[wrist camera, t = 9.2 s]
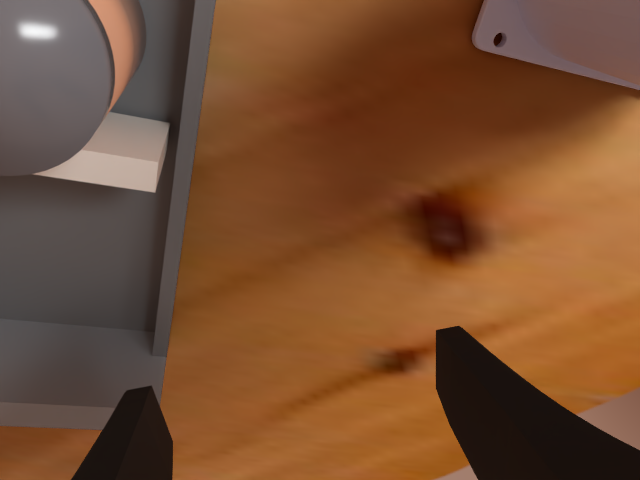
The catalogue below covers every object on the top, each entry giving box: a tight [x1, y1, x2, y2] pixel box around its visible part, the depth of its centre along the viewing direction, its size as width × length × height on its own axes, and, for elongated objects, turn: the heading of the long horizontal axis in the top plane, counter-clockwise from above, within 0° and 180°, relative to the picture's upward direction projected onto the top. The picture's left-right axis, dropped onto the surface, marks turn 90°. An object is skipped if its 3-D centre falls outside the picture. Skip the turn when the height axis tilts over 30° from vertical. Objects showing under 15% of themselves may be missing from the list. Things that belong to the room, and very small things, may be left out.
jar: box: [0, 0, 146, 176], centre depth 14 cm, size 5×5×7 cm
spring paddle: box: [34, 112, 170, 193], centre depth 17 cm, size 7×1×4 cm, turn 76°
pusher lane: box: [0, 0, 216, 430], centre depth 17 cm, size 9×22×5 cm, turn 166°
